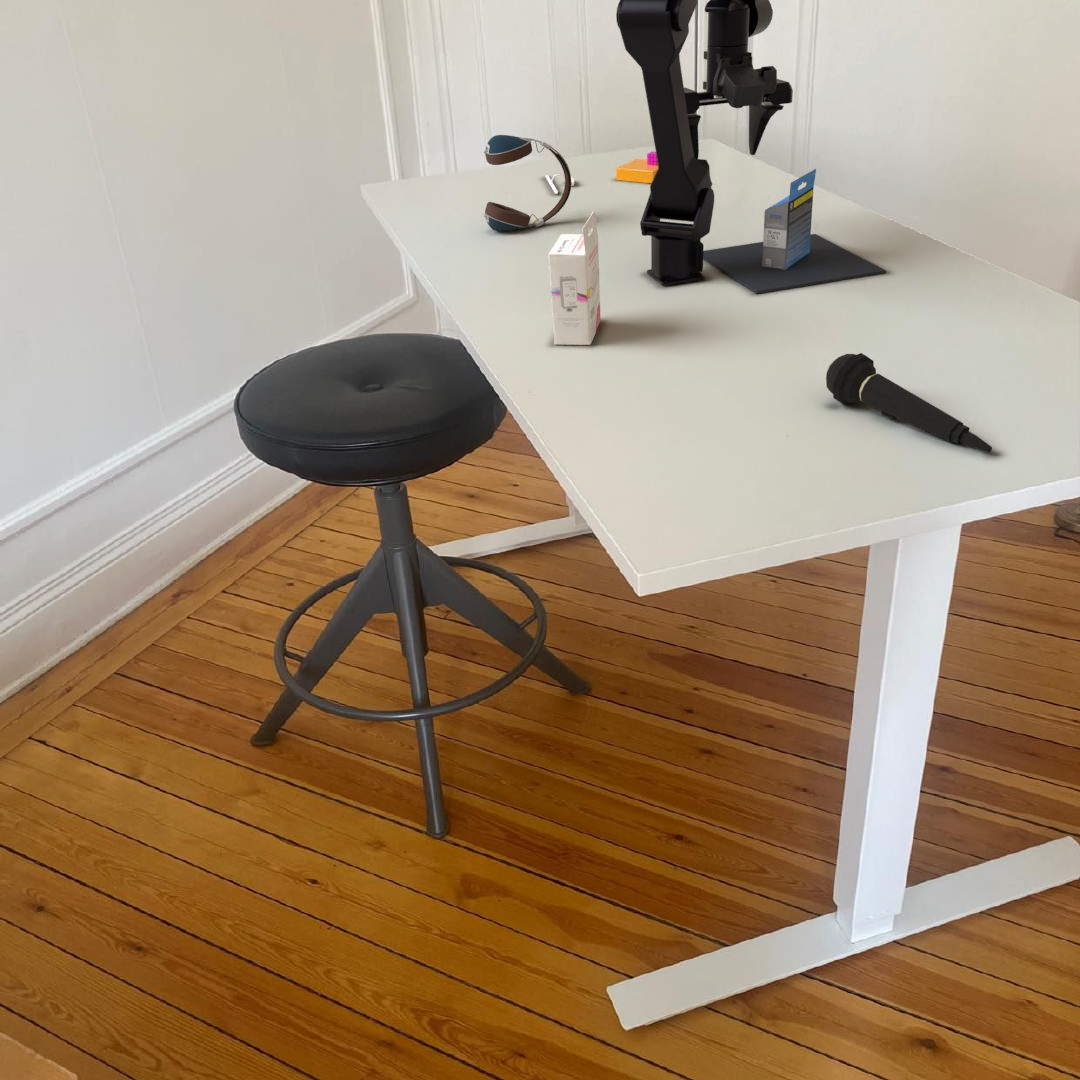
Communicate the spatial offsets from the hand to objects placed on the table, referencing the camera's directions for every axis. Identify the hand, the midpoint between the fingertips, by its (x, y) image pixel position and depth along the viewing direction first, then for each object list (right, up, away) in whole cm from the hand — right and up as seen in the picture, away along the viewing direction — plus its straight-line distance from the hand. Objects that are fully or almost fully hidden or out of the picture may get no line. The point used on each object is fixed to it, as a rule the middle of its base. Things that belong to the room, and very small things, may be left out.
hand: (723, 158), depth 166 cm
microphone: (+10, -45, -50) cm, 68 cm away
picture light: (-23, +10, +43) cm, 50 cm away
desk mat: (+9, -16, -3) cm, 19 cm away
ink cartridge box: (-23, -31, -23) cm, 44 cm away
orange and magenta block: (-8, +12, +45) cm, 47 cm away
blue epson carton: (+8, -16, -4) cm, 19 cm away
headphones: (-33, -5, +20) cm, 38 cm away
